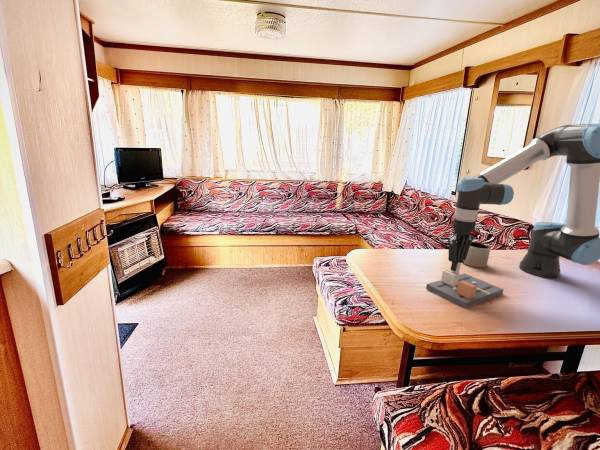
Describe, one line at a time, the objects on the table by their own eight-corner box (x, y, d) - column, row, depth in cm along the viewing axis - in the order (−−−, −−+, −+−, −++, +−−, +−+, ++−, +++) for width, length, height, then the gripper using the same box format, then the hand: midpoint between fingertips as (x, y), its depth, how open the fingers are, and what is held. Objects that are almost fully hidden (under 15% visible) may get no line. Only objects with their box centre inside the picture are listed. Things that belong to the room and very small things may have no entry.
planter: (490, 269, 146) (494, 249, 143) (464, 266, 148) (468, 247, 145) (482, 261, 156) (486, 242, 153) (458, 258, 158) (461, 240, 155)
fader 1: (445, 279, 127) (447, 269, 125) (457, 284, 122) (459, 273, 121) (441, 281, 125) (443, 270, 124) (452, 286, 121) (454, 275, 120)
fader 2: (461, 291, 117) (463, 279, 116) (474, 297, 113) (476, 285, 112) (456, 292, 116) (458, 281, 115) (469, 299, 112) (471, 287, 110)
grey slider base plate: (463, 277, 135) (464, 272, 134) (502, 294, 122) (504, 287, 121) (426, 288, 123) (427, 282, 122) (464, 308, 110) (466, 301, 109)
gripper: (466, 215, 124) (455, 271, 131) (444, 218, 118) (434, 277, 124) (484, 220, 118) (472, 278, 125) (463, 223, 112) (451, 284, 118)
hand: (453, 277), depth 124 cm, fingers closed
